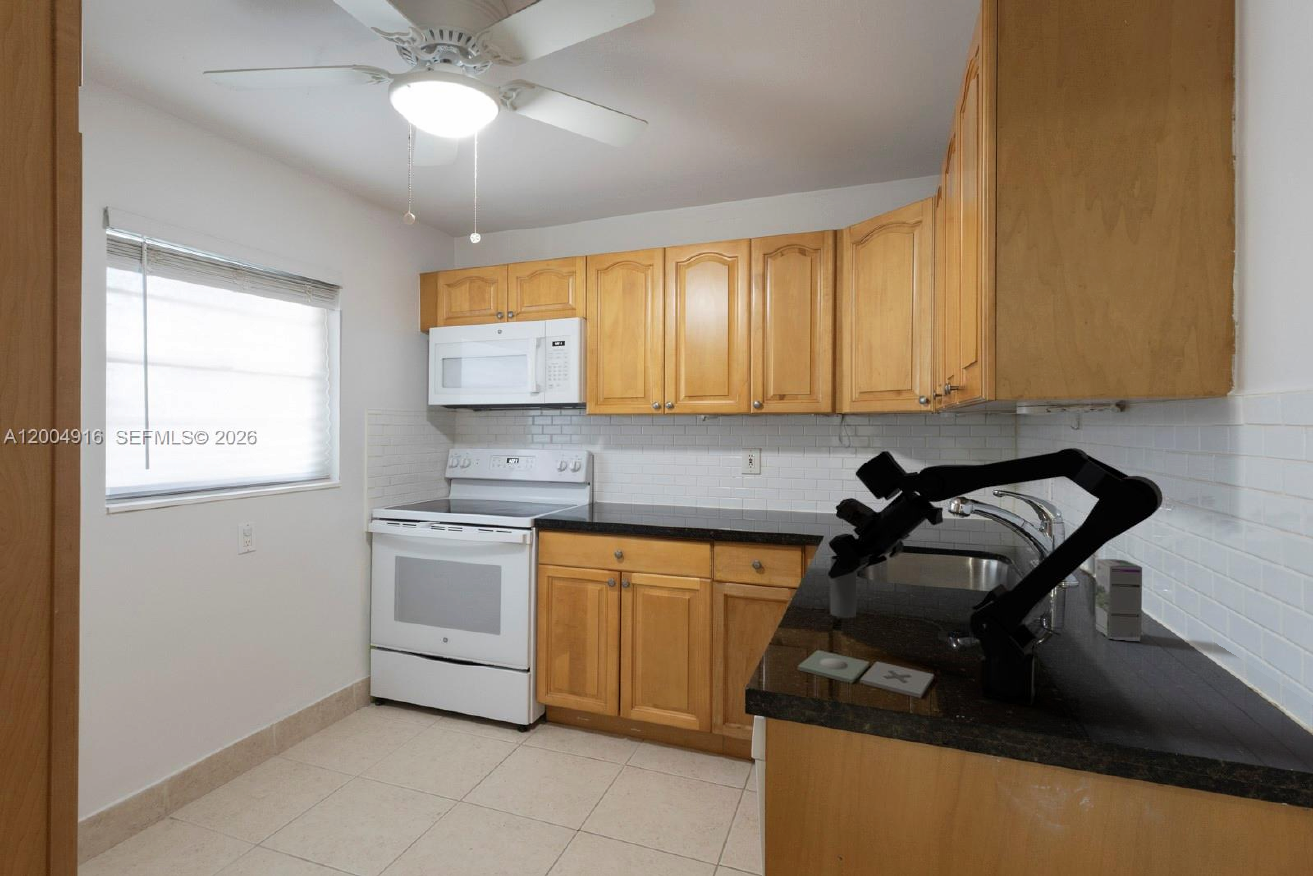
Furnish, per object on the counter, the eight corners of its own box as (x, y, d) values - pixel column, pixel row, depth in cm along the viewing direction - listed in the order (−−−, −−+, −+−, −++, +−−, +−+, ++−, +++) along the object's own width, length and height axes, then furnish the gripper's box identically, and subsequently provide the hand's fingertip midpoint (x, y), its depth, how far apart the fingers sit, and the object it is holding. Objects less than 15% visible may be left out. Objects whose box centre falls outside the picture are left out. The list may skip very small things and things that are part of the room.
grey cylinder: (846, 609, 117) (846, 554, 117) (861, 616, 113) (862, 559, 112) (825, 611, 115) (825, 556, 115) (839, 619, 111) (840, 561, 111)
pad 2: (933, 678, 101) (933, 673, 101) (920, 698, 94) (920, 693, 94) (876, 665, 106) (876, 660, 106) (860, 683, 99) (860, 678, 99)
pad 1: (869, 665, 106) (869, 661, 106) (851, 683, 99) (851, 679, 99) (817, 653, 111) (817, 649, 111) (797, 669, 104) (797, 665, 104)
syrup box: (1142, 642, 118) (1145, 566, 118) (1107, 640, 120) (1109, 564, 119) (1126, 632, 124) (1128, 559, 124) (1092, 630, 125) (1095, 558, 125)
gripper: (887, 481, 117) (832, 532, 125) (840, 488, 104) (782, 546, 112) (930, 528, 112) (870, 578, 120) (886, 542, 99) (821, 598, 107)
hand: (836, 574), depth 115 cm, fingers closed on grey cylinder, 5 cm apart
